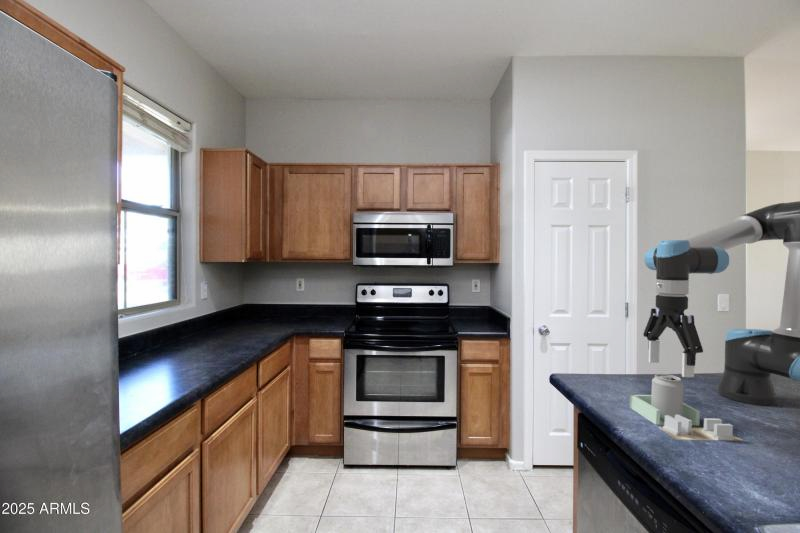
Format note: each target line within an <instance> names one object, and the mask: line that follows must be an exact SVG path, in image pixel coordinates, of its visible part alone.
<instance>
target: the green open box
mask: <svg viewBox="0 0 800 533" xmlns="http://www.w3.org/2000/svg"><path fill="white" fill-rule="evenodd" d="M629 409H630V410H633V411H634V412H636V413H637V414H639V415H640V416H642V417H644V418H645V419H646V420H647V421H650V422H651V423H652V424H654V425H655V426H664V423H665V421H662V420H660V410H658V409H657V408H655V407H653V406H651V394H629ZM682 417H685V418H687V419H689V420H691V421H692V426H700V421H701V420H700V419H701V418H700V417H701V411H700V410H698V409H696V408H694V407H693V406H691V405H689V404H687V403H685V402H683V414H682Z"/></svg>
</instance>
